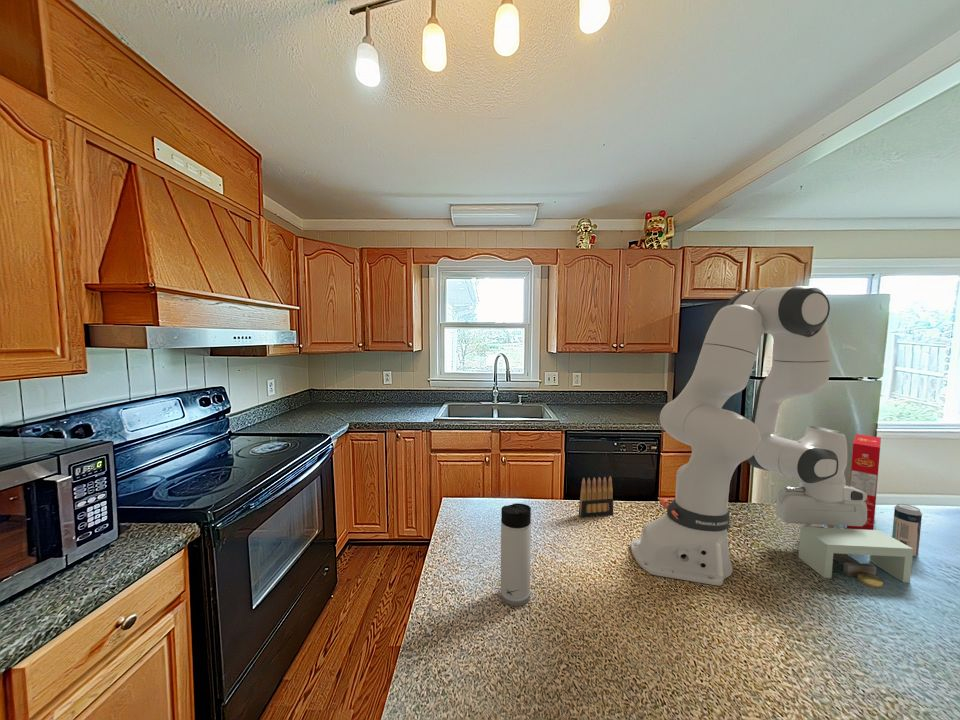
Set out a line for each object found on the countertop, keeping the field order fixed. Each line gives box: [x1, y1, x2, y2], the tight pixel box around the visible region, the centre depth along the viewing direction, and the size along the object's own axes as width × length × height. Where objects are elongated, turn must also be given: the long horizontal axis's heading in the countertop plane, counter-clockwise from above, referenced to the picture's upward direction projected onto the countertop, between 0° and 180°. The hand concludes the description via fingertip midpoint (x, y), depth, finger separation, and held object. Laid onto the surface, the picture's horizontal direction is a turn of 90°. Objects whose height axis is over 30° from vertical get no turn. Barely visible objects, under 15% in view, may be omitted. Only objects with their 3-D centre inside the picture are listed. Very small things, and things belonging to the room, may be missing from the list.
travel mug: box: [500, 502, 532, 607], centre depth 80 cm, size 6×7×20 cm
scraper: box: [811, 524, 877, 577], centre depth 95 cm, size 6×16×5 cm, turn 175°
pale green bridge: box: [798, 526, 914, 584], centre depth 90 cm, size 18×8×8 cm, turn 85°
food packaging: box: [846, 433, 882, 530], centre depth 112 cm, size 15×5×25 cm, turn 133°
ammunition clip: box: [578, 475, 614, 518], centre depth 116 cm, size 11×2×12 cm, turn 100°
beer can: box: [891, 503, 923, 557], centre depth 97 cm, size 5×5×12 cm
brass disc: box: [856, 572, 884, 589], centre depth 85 cm, size 4×4×1 cm
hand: (817, 538), depth 100 cm, fingers closed on scraper, 3 cm apart
